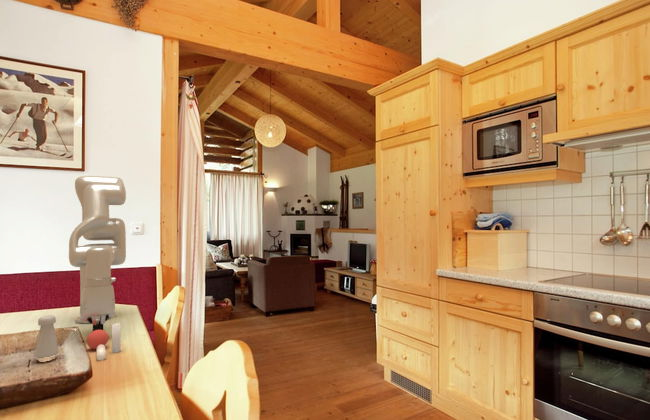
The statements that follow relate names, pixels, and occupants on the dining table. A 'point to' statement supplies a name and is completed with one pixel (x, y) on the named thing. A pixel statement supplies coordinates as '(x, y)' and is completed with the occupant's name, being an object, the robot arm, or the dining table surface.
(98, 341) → the ball
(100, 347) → the pin
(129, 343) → the dining table surface
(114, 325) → the pin
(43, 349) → the salt shaker
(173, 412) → the dining table surface
